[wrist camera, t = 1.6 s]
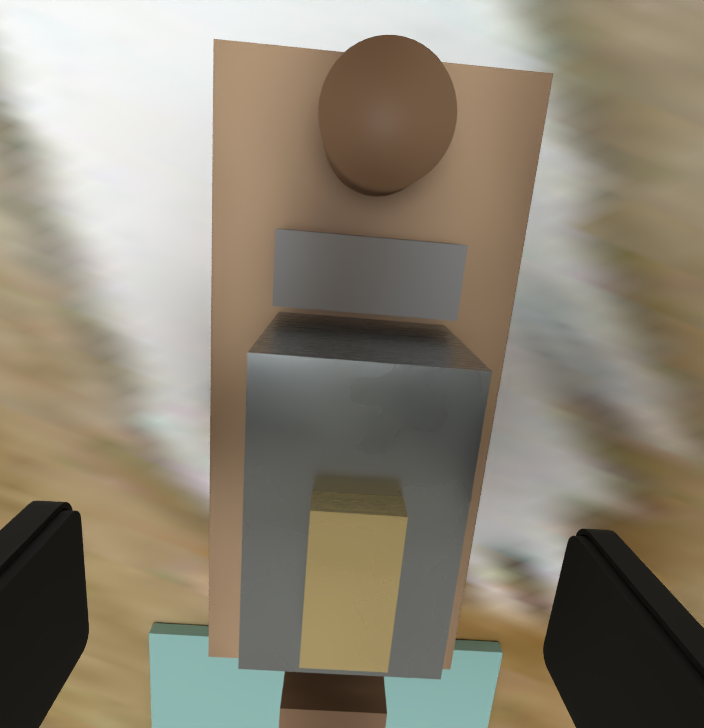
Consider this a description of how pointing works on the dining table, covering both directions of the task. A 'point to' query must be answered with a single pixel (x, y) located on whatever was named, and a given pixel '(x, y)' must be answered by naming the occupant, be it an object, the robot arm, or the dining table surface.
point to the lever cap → (355, 493)
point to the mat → (264, 688)
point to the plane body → (357, 252)
